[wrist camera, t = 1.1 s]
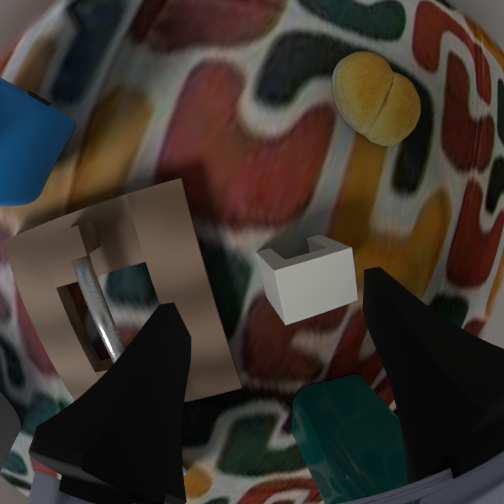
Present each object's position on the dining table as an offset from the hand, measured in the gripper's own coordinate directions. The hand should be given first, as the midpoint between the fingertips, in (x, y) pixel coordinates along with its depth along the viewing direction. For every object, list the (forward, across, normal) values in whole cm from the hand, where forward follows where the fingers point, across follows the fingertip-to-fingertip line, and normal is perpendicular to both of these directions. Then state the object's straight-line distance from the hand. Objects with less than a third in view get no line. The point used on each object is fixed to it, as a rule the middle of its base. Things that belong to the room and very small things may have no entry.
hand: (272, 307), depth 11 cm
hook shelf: (+8, +13, +6) cm, 17 cm away
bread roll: (+19, -12, -5) cm, 23 cm away
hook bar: (+5, +12, +5) cm, 15 cm away
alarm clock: (+13, +18, -10) cm, 24 cm away
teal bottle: (+7, -3, +24) cm, 26 cm away
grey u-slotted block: (+12, -2, +7) cm, 14 cm away
